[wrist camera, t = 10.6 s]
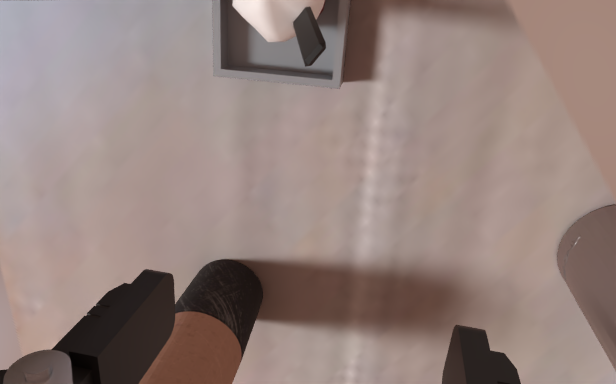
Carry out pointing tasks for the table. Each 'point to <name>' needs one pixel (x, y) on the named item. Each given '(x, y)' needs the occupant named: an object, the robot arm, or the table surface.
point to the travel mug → (209, 327)
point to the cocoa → (287, 23)
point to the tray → (278, 49)
